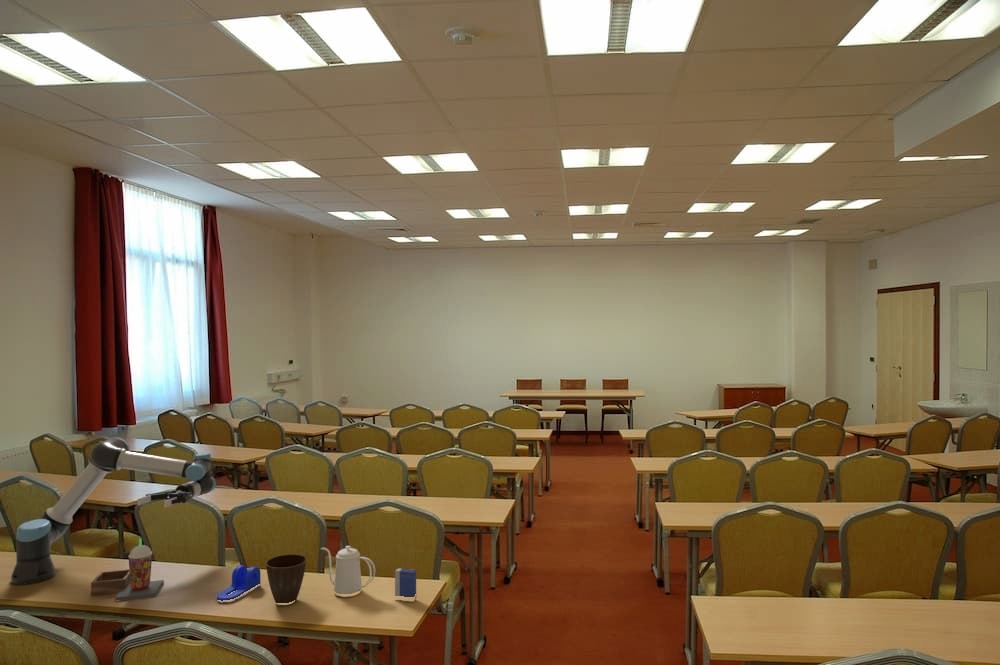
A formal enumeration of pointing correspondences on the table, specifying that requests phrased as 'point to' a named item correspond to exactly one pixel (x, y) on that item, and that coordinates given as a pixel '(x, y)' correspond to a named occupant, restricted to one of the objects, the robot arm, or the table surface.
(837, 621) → the table surface
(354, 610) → the table surface
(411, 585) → the walkman
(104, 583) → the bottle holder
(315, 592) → the table surface
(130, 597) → the mat
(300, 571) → the plant pot
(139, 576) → the smoothie
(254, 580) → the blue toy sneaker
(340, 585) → the coffeepot
